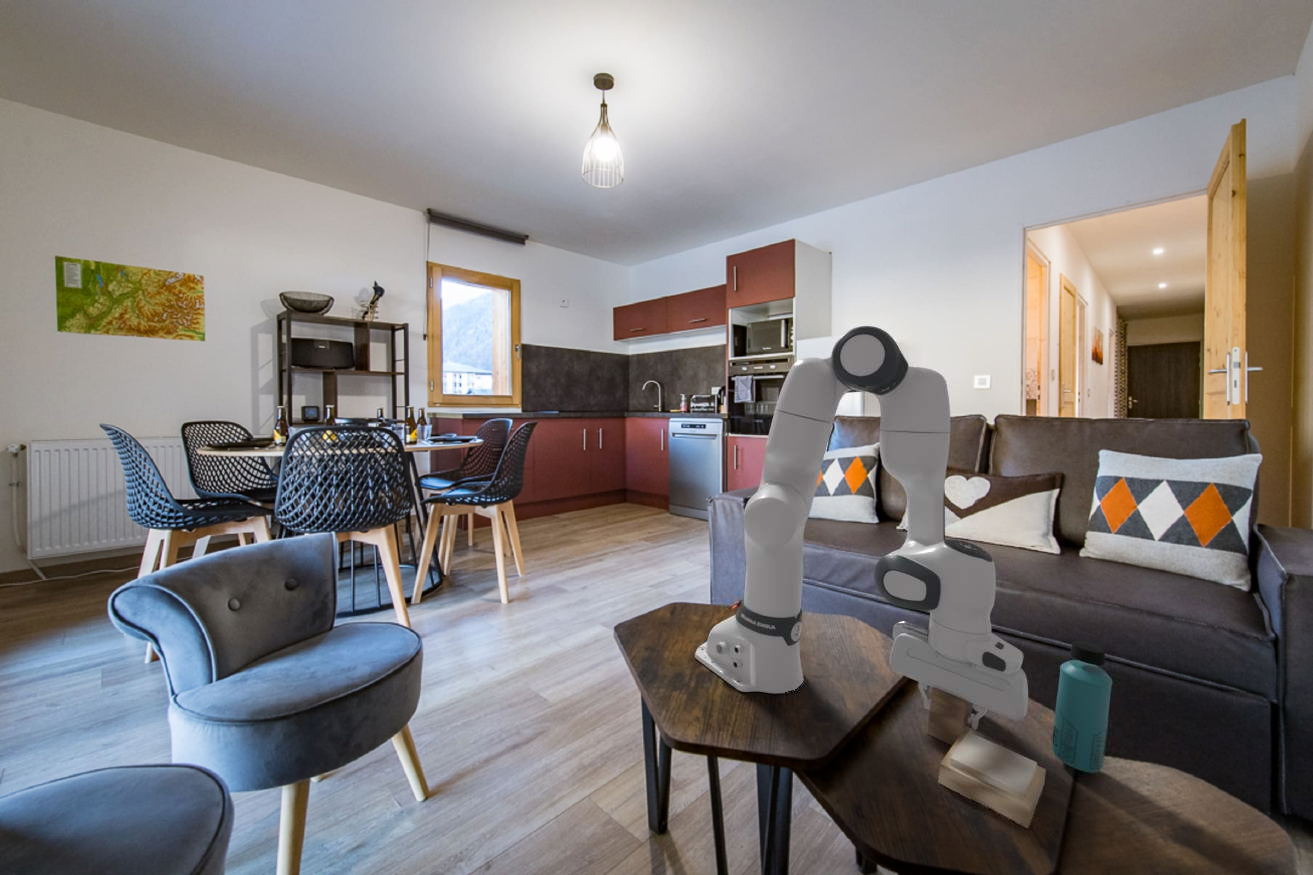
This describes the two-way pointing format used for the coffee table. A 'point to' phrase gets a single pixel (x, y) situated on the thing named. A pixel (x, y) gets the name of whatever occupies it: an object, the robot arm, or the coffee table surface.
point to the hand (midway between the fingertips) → (950, 717)
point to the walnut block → (947, 716)
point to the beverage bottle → (1082, 709)
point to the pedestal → (993, 776)
